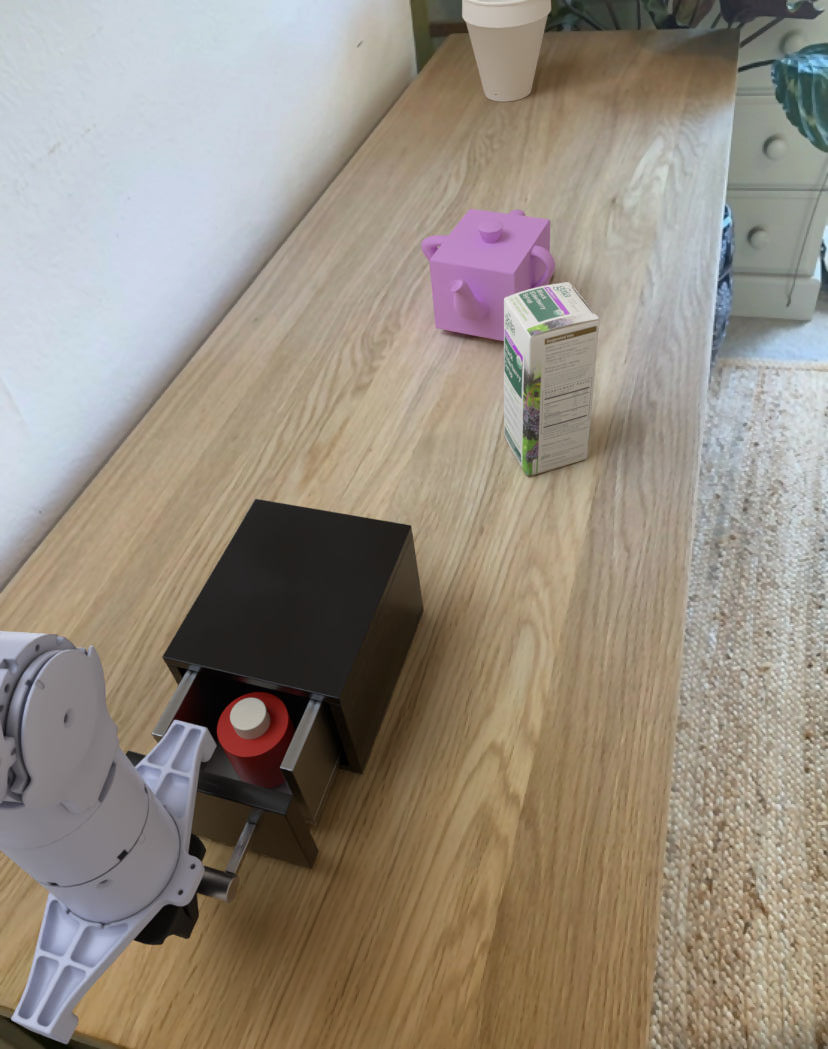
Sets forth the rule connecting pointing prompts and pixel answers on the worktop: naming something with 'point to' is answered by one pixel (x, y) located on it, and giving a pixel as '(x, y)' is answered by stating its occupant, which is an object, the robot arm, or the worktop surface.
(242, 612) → the cabinet
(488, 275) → the teapot
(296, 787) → the drawer
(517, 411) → the syrup box
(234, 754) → the bottle
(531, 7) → the cup
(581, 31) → the worktop surface
